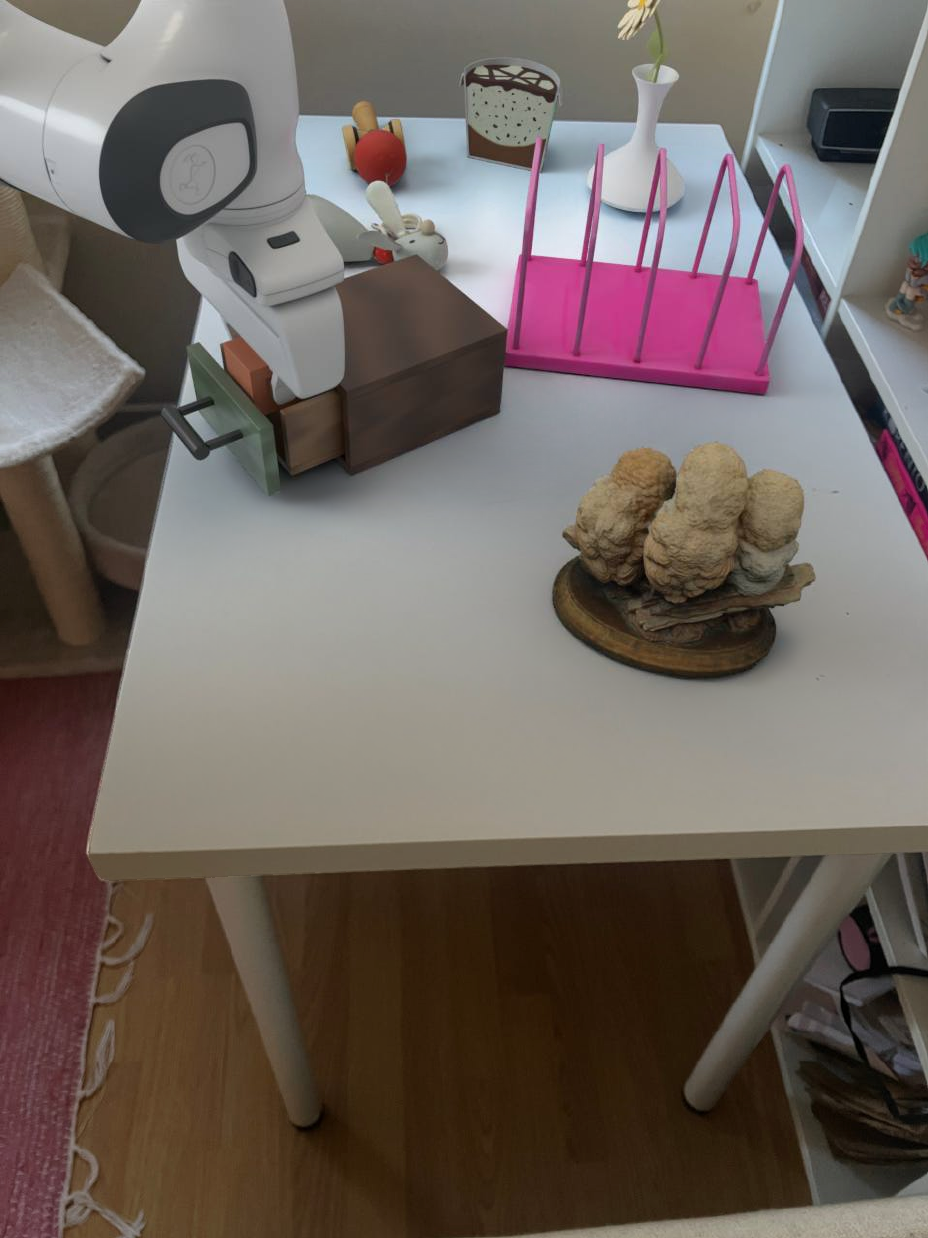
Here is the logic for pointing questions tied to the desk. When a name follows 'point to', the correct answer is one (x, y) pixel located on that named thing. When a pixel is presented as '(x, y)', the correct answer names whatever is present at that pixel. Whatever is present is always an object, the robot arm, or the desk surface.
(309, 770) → the desk surface
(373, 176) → the kendama
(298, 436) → the drawer
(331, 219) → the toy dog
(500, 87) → the food container
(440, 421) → the cabinet
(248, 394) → the block
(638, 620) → the owl figurine
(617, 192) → the flower in vase
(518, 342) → the file sorter
